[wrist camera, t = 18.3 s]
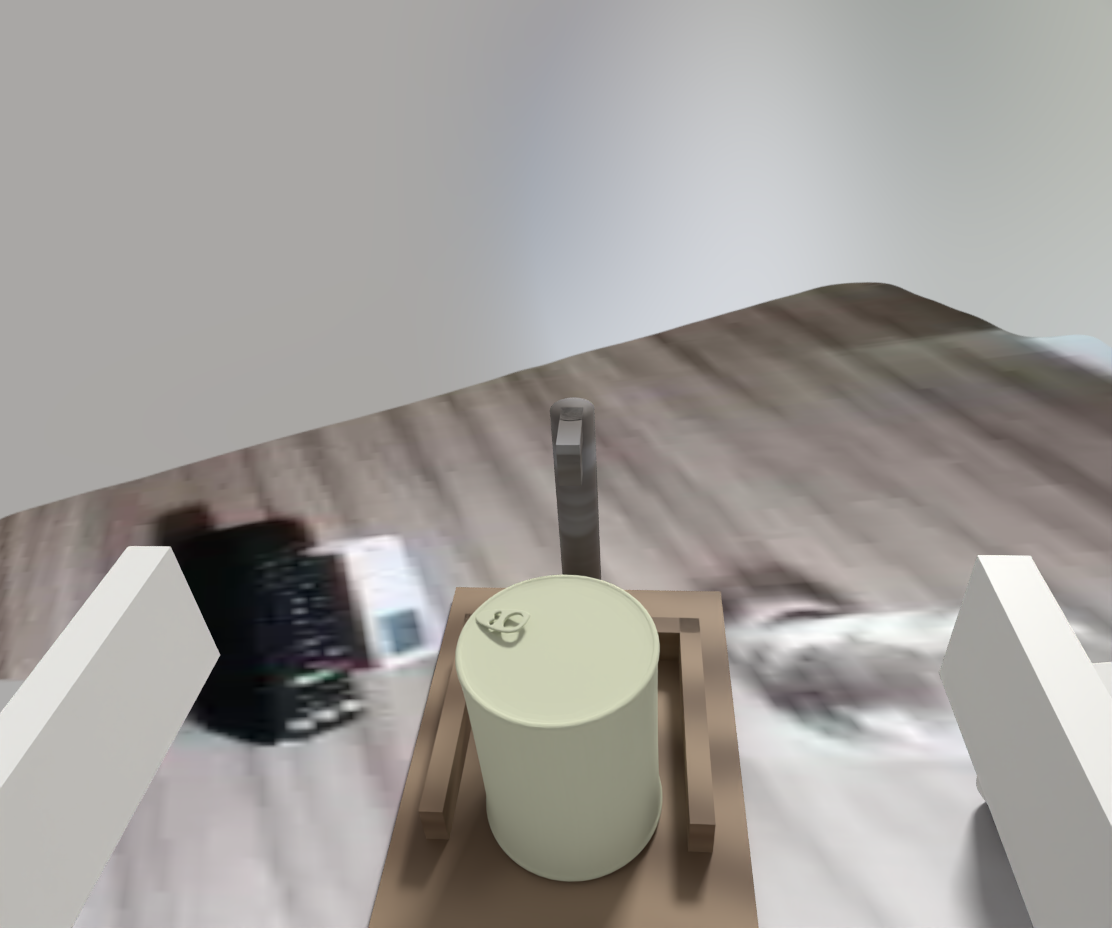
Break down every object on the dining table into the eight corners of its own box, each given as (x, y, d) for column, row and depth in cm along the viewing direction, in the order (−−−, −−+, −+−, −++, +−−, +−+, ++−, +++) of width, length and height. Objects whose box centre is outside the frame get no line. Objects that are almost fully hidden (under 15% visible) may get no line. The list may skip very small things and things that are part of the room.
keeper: (761, 973, 36) (806, 744, 26) (368, 948, 38) (272, 726, 28) (719, 600, 54) (737, 384, 45) (457, 595, 56) (419, 387, 46)
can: (540, 701, 48) (518, 546, 41) (688, 758, 44) (691, 597, 37) (452, 834, 41) (409, 676, 34) (616, 916, 37) (605, 755, 30)
